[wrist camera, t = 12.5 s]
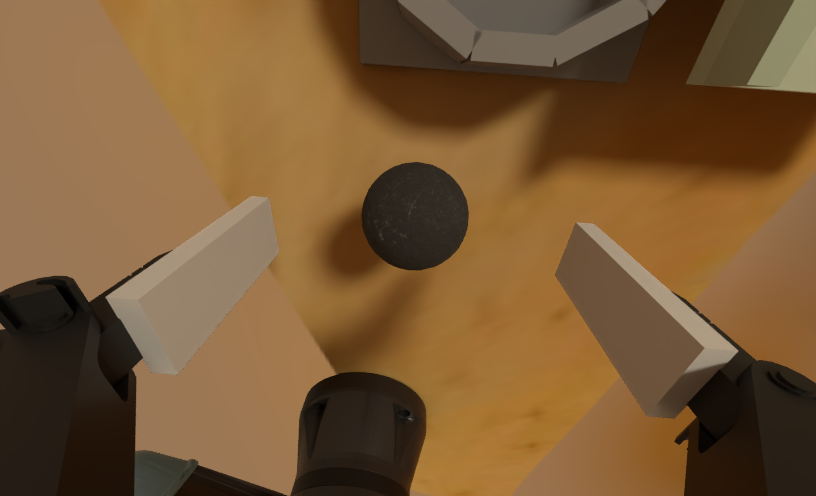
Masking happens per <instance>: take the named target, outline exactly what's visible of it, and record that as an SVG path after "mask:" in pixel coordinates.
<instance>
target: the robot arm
mask: <svg viewBox="0 0 816 496" xmlns="http://www.w3.org/2000/svg"><path fill="white" fill-rule="evenodd" d="M278 253H279V248H278V243H277V238H276V232H275V227H274V222H273V216H272V211H271V206H270V201H269V197H256V196H251V197H249V198H248V199H246V200H245V201H243V202H242V203H241V204H239V205H238V206H236V207H235V208H233V209H232V210H230V211H229V212H228V213H226V214H225V215H223V216H222V217H220V218H219V219H217V220H216V221H215V222H213V223H212V224H210V225H209V226H207V227H206V228H205V229H203V230H202V231H200V232H199V233H197V234H196V235H194V236H193V237H191V238H190V239H189V240H187V241H186V242H184V243H183V244H182V245H180V246H178V247H177V248H176V249H174V250H171V251H169V252H166V253H164V254H162V255H159V256H157V257H156V258H154V259H153V260H151V261H150V262H148V263H147V264H145V265H144V266H143V268H139V269H138V270H136V271H135V272H133V273H132V275H131V276H127V277H126V278H125V279H123V280H122V281H120V282H118V283H117V284H116V285H114V286H113V287H111V288H110V289H108V290H107V291H105V292H104V293H102V294H101V295H99V296H98V297H96V298H95V299H93V300H92V301H90V302H88V301H87V299H86V297H85V296H84V294H83V293H82V291H81V290H80V288H79V287H78V285H77V284H76V282H75V281H74V279H72V278H70V277H67V276H51V277H44V278H38V279H35V280H31V281H27V282H24V283H21V284H18V285H16V286H13V287H11V288H8V289H6V290H4V291H2V292H0V323H1V324H2V326H3V327H4V328H5V329H3V330H0V496H287V495H284V494H282V493H279V492H276V491H273V490H270V489H267V488H264V487H261V486H258V485H255V484H252V483H249V482H246V481H243V480H241V479H237V478H234V477H231V476H229V475H226V474H223V473H219V472H217V471H214V470H211V469H208V468H205V467H202V466H199V465H198V461H196V460H194V459H190V460H188V461H186V460H182V459H178V458H175V457H171V456H167V455H164V454H160V453H156V452H153V451H147V450H142V451H135V425H136V421H135V420H136V376H135V373H134V372H133V370H132V368H133V367H134V366H135V365H136V364H137V363H138V362H139V361H140V360H141V359H143V360H144V362H145V364H146V365H147V367H148V368H149V370H150V372H151V373H164V374H175V375H178V374H179V373H180V371H181V370H182V369H183V368H184V366H185V365H186V364H187V363H188V362H189V361H190V359H191V358H192V357H193V356H194V355H195V353H196V352H197V351H198V350H199V348H200V347H201V346H202V345H203V344H204V342H205V341H206V340H207V339H208V337H209V336H210V335H211V334H212V333H213V332H214V330H215V329H216V328H217V327H218V326H219V324H220V323H221V322H222V321H223V319H224V318H225V317H226V316H227V315H228V313H229V312H230V311H231V310H232V309H233V307H234V306H235V305H236V304H237V302H238V301H239V300H240V299H241V298H242V297H243V295H244V294H245V293H246V292H247V291H248V289H249V288H250V287H251V286H252V284H253V283H254V282H255V281H256V279H257V278H258V277H259V276H260V275H261V274H262V272H263V271H264V270H265V269H266V268H267V266H268V265H269V264H270V263H271V262H272V260H273V259H274V258H275V257H276V255H277V254H278ZM555 276H556V277H557V279H558V280H559V282H560V283H561V285H562V287H563V288H564V290H565V291H566V293H567V294H568V296H569V297H570V299H571V300H572V302H573V304H574V305H575V307H576V308H577V310H578V311H579V313H580V314H581V316H582V317H583V319H584V320H585V322H586V324H587V325H588V327H589V328H590V330H591V331H592V333H593V334H594V336H595V337H596V339H597V341H598V342H599V344H600V345H601V347H602V348H603V350H604V351H605V353H606V354H607V356H608V357H609V359H610V361H611V362H612V364H613V365H614V367H615V368H616V370H617V371H618V373H619V374H620V376H621V378H622V379H623V380H624V382H625V384H626V385H627V387H628V388H629V390H630V391H631V393H632V394H633V396H634V398H635V399H636V401H637V402H638V404H639V405H640V407H641V408H642V410H643V411H644V413H645V415H646V416H651V417H662V418H673V419H674V418H675V417H676V416H677V415H678V414H679V413H680V412H681V411H682V410H683V409H684V408H685V407H686V406H687V405H688V406H689V408H690V409H691V410H692V412H693V413H694V414H695V415H696V416H697V417H696V418H695V419H694V420H693V422H691V423H690V424H689V425H688V426H687V427H686V428H685V429H684V430H683V431H682V432H681V433H680V434H679V435H678V436H677V438H676V439H675V442H676V443H677V444H679V445H680V444H681V443H682V442H683V441H684V440H688V448H687V450H688V453H687V465H686V478H685V490H684V496H816V383H814V382H813V381H811V380H810V379H808V378H807V377H805V376H803V375H802V374H800V373H798V372H796V371H794V370H792V369H790V368H788V367H785V366H782V365H779V364H776V363H774V362H769V361H763V360H759V361H756V360H755V359H754V358H753V357H752V356H750V355H749V354H748V353H747V352H746V351H745V350H743V349H742V348H741V347H740V346H739V345H738V344H737V343H735V342H734V341H733V340H732V339H731V338H730V337H728V336H727V335H726V334H725V333H724V332H723V331H721V330H720V329H719V328H718V327H717V326H716V325H714V324H711V323H710V320H709V319H708V318H706V317H705V316H704V315H703V314H700V313H699V311H698V310H697V309H696V308H695V307H694V306H692V305H691V304H690V303H689V302H688V301H687V300H685V299H684V298H682V297H680V296H679V295H677V294H675V293H674V292H672V291H670V290H669V289H668V288H667V287H665V286H664V285H663V284H662V283H661V282H660V281H659V280H657V279H656V278H655V277H654V276H653V275H652V274H651V273H649V272H648V271H647V270H646V269H645V268H644V267H643V266H642V265H640V264H639V263H638V262H637V261H636V260H635V259H634V258H632V257H631V256H630V255H629V254H628V253H627V252H626V251H624V250H623V249H622V248H621V247H620V246H619V245H618V244H617V243H615V242H614V241H613V240H612V239H611V238H610V237H609V236H607V235H606V234H605V233H604V232H603V231H602V230H601V229H599V228H598V227H597V226H596V225H595V224H591V223H578V222H576V223H575V226H574V228H573V231H572V234H571V236H570V239H569V241H568V244H567V246H566V249H565V251H564V254H563V256H562V259H561V261H560V264H559V266H558V269H557V271H556V274H555ZM425 436H426V408H425V405H424V403H423V401H422V400H421V398H420V397H419V396H418V395H417V394H416V393H415V392H414V391H413V390H412V389H410V388H409V387H408V386H406V385H404V384H403V383H401V382H399V381H396V380H394V379H391V378H388V377H385V376H381V375H376V374H370V373H345V374H339V375H335V376H331V377H329V378H326V379H324V380H322V381H320V382H319V383H317V384H316V385H314V386H313V387H312V388H311V390H310V391H309V393H308V394H307V397H306V399H305V402H304V405H303V408H302V410H301V414H300V419H299V440H298V464H297V476H296V479H295V482H294V486H293V489H292V492H291V495H290V496H410V487H411V483H412V480H413V477H414V473H415V470H416V466H417V463H418V460H419V456H420V453H421V450H422V446H423V443H424V440H425Z"/></svg>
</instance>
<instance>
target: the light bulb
mask: <svg viewBox="0 0 816 496" xmlns="http://www.w3.org/2000/svg"><path fill="white" fill-rule="evenodd" d="M468 215H469V212H468V205H467V201H466V198H465V196H464V194H463V191H462V190H461V188H460V186H459V185H458V184H457V182H456V181H455V180H454V179H453V178H452V177H451V176H450V175H449V174H447V173H446V172H445V171H444V170H442V169H440V168H438V167H436V166H433V165H430V164H425V163H419V162H413V163H404V164H401V165H398V166H395V167H393V168H391V169H389V170H387V171H386V172H384V173H383V174H382V175H380V176H379V177H378V179H377V180H376V181H375V182H374V183H373V184H372V185H371V187H370V188H369V190H368V192H367V195H366V197H365V200H364V203H363V208H362V226H363V230H364V234H365V236H366V238H367V240H368V243H369V245H370V246H371V248H372V249H373V250H374V252H375V253H376V254H377V255H378V256H379V257H380V258H382V259H383V260H384V261H386V262H387V263H388V264H391V265H393V266H395V267H398V268H401V269H405V270H423V269H427V268H431V267H435V266H437V265H439V264H441V263H443V262H444V261H446V260H447V259H448V258H450V257H451V256H452V255H453V254H454V253H455V252H456V251H457V250H458V248H459V246H460V245H461V243H462V241H463V239H464V237H465V234H466V231H467V227H468Z"/></svg>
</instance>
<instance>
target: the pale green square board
mask: <svg viewBox="0 0 816 496" xmlns="http://www.w3.org/2000/svg"><path fill="white" fill-rule="evenodd" d="M686 84H692V85H706V86H719V87H732V88H745V89H759V90H772V91H785V92H799V93H812V94H816V0H725V1H724V3H723V5H722V8H721V10H720V12H719V14H718V16H717V18H716V20H715V22H714V25H713V27H712V29H711V31H710V33H709V35H708V37H707V39H706V41H705V44H704V46H703V48H702V50H701V52H700V54H699V56H698V58H697V61H696V63H695V65H694V67H693V69H692V71H691V73H690V75H689V78H688V80H687V82H686Z"/></svg>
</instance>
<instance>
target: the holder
mask: <svg viewBox="0 0 816 496" xmlns="http://www.w3.org/2000/svg"><path fill="white" fill-rule="evenodd" d="M665 1H666V0H359V43H360V63H362V64H374V65H387V66H401V67H414V68H427V69H441V70H454V71H467V72H480V73H494V74H507V75H520V76H533V77H547V78H560V79H573V80H587V81H600V82H613V83H626V82H627V79H628V77H629V74H630V71H631V69H632V66H633V63H634V61H635V58H636V56H637V53H638V50H639V48H640V45H641V43H642V40H643V37H644V35H645V32H646V29H647V27H648V24H649V22H650V19H651V16H653V15H654V14H655V13H656V12H657V10H658V9H659V8H660V7H661V6H662V5H663V4H664V2H665Z"/></svg>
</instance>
